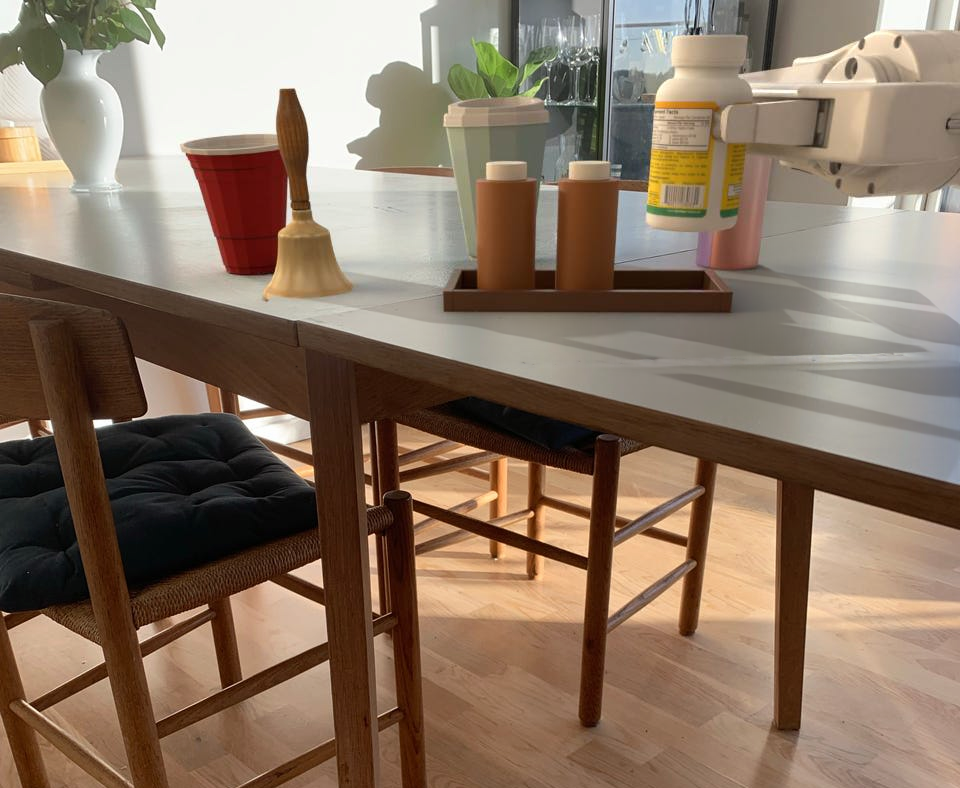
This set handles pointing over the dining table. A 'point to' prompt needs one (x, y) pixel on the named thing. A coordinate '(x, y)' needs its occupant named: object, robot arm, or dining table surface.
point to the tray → (597, 293)
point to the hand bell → (301, 219)
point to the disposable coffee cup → (492, 146)
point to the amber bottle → (586, 227)
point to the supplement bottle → (697, 137)
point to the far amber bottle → (506, 227)
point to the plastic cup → (242, 197)
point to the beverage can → (740, 224)
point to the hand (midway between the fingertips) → (687, 121)
